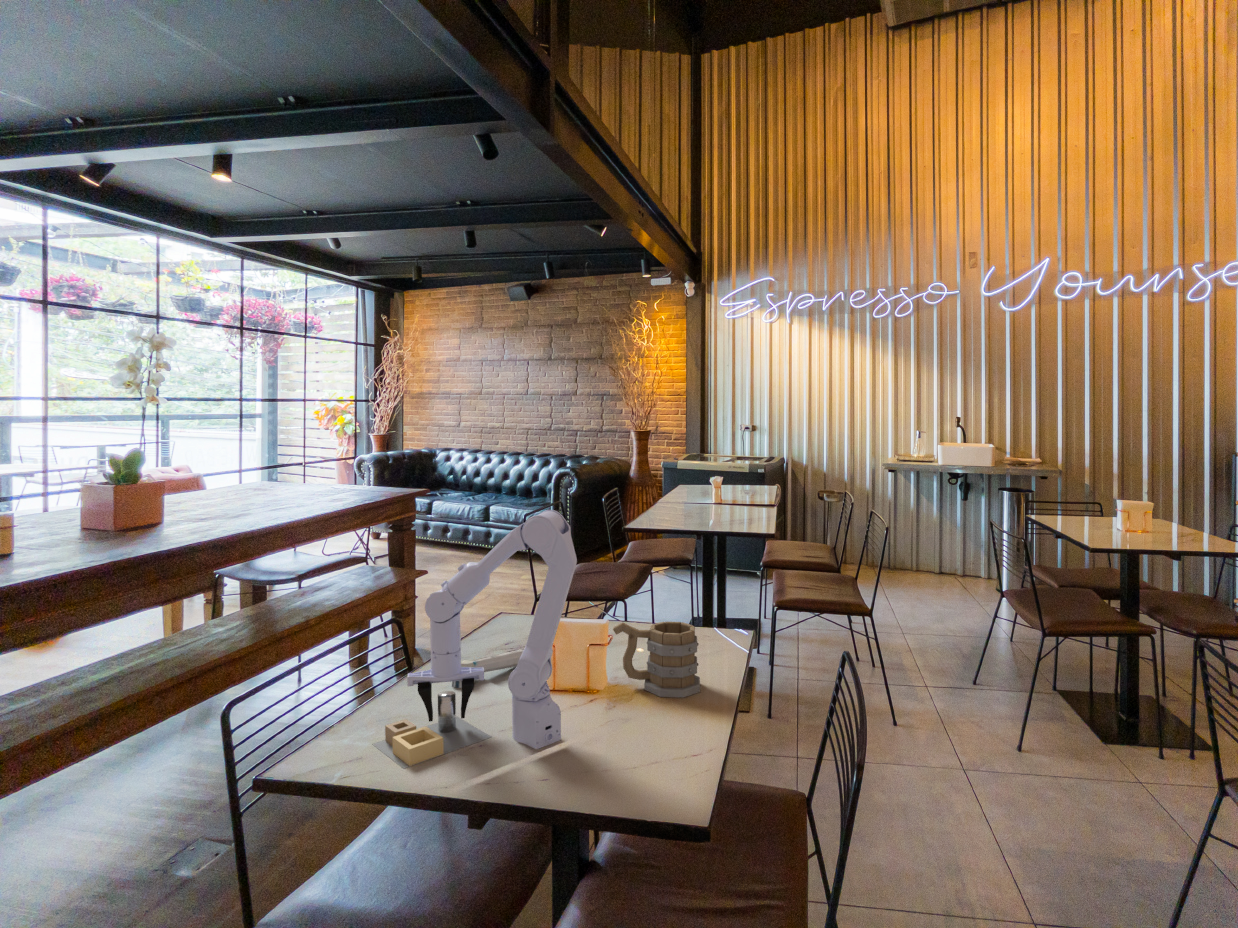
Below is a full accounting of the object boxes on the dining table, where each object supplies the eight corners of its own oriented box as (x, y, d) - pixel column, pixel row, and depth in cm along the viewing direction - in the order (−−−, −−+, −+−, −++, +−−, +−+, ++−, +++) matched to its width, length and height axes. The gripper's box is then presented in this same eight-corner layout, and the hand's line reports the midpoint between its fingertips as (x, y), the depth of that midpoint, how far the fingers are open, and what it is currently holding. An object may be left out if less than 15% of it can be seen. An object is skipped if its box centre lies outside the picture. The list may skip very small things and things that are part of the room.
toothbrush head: (540, 648, 177) (462, 661, 158) (537, 675, 177) (459, 691, 157) (525, 644, 180) (447, 656, 161) (523, 670, 180) (444, 685, 161)
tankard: (699, 678, 167) (699, 616, 166) (700, 698, 154) (700, 632, 153) (616, 675, 169) (616, 614, 168) (610, 695, 156) (610, 629, 155)
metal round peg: (459, 729, 137) (458, 694, 137) (443, 734, 135) (443, 698, 134) (450, 723, 140) (449, 689, 139) (435, 728, 137) (434, 693, 137)
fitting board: (492, 740, 134) (491, 721, 134) (403, 772, 122) (403, 751, 121) (457, 719, 143) (456, 701, 143) (371, 747, 131) (371, 728, 131)
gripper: (482, 640, 142) (483, 706, 143) (408, 646, 139) (409, 713, 139) (484, 651, 135) (485, 720, 136) (406, 657, 132) (407, 727, 133)
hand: (446, 717), depth 137 cm, fingers open, 5 cm apart
